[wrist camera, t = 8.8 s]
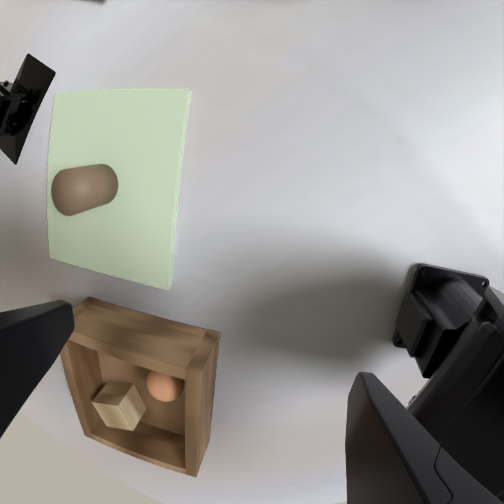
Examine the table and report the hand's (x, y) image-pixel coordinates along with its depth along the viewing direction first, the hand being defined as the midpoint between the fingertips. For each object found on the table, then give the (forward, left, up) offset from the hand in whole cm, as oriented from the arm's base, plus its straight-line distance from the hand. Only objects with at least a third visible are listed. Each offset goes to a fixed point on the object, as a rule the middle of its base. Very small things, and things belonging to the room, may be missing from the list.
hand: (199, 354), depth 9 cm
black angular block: (+23, -8, -14) cm, 28 cm away
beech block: (+10, +18, -12) cm, 24 cm away
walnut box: (+8, +15, -13) cm, 21 cm away
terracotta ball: (+5, +13, -12) cm, 18 cm away
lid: (+12, -2, -14) cm, 18 cm away
